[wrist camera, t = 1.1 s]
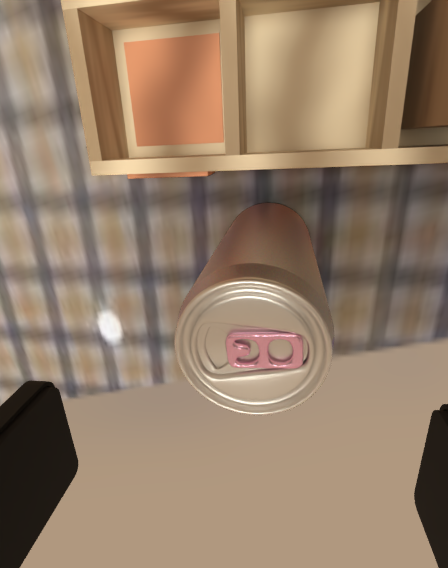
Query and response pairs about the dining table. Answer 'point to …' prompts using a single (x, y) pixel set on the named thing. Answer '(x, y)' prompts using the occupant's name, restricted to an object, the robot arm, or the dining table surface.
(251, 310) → the beverage can
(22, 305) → the dining table surface
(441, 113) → the walnut block
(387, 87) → the rack
